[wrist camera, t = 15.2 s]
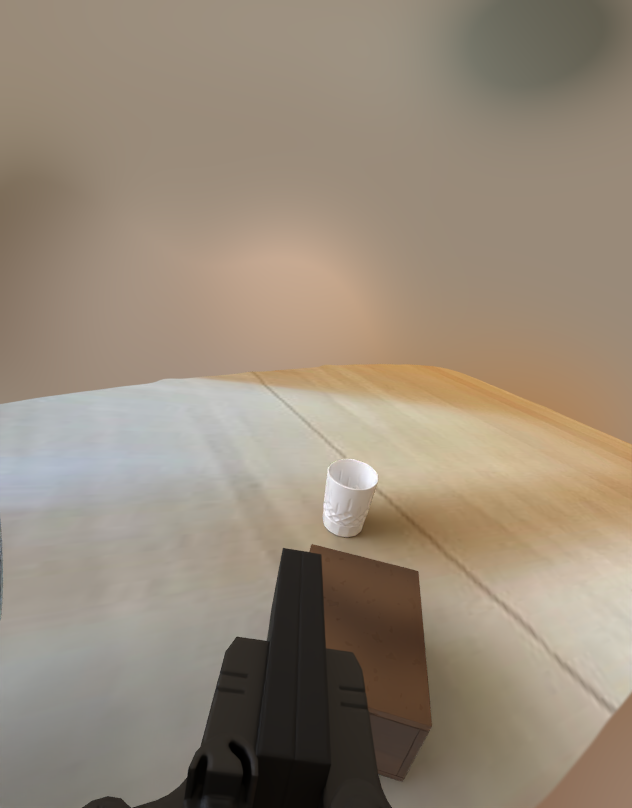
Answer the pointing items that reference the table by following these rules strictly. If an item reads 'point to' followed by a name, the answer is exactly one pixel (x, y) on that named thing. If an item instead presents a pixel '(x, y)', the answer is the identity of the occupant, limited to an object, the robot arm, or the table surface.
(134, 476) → the table surface
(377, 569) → the lid
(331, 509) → the white cup
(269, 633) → the robot arm
